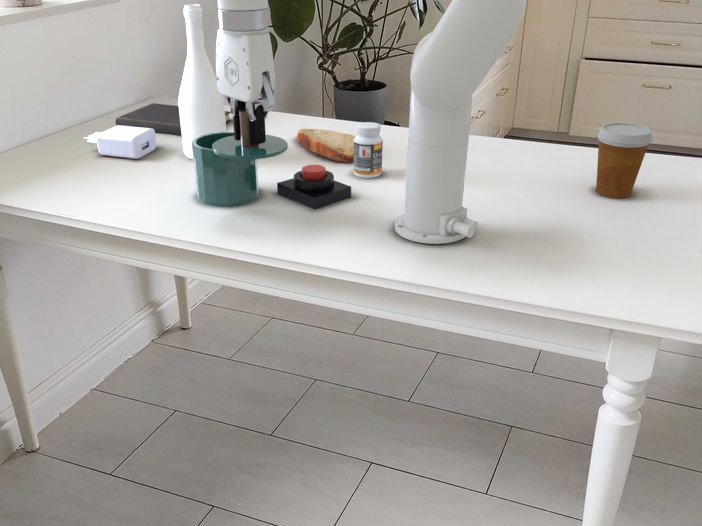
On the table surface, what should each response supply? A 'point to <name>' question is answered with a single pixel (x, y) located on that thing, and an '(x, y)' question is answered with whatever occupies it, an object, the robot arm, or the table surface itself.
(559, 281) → the table surface
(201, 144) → the canister
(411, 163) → the robot arm
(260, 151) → the lid
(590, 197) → the table surface
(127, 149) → the charger
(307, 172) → the release button
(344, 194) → the button housing
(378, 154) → the pill bottle
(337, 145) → the bread slice
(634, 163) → the disposable coffee cup
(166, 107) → the hardcover book
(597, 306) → the table surface
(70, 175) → the table surface
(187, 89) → the wine bottle
